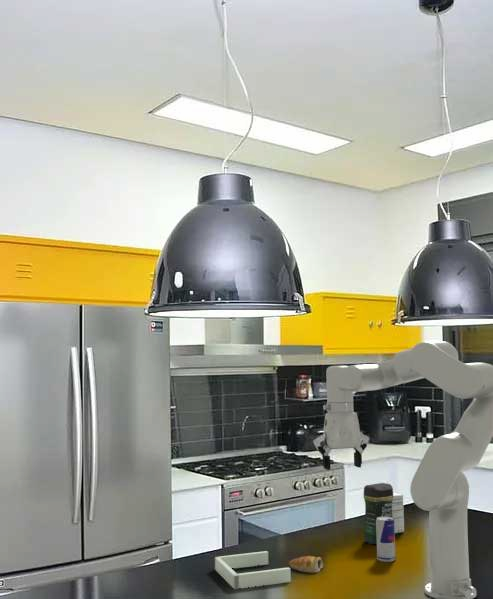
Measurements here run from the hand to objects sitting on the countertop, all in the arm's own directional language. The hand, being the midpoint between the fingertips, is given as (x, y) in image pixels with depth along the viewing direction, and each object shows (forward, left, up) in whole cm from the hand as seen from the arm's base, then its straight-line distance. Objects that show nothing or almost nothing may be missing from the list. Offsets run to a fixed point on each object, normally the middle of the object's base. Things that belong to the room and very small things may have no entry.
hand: (342, 468), depth 204 cm
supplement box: (+32, -33, -29) cm, 54 cm away
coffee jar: (+21, -23, -29) cm, 42 cm away
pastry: (+4, +10, -29) cm, 31 cm away
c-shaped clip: (+4, +27, -28) cm, 39 cm away
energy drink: (+3, -15, -28) cm, 32 cm away
